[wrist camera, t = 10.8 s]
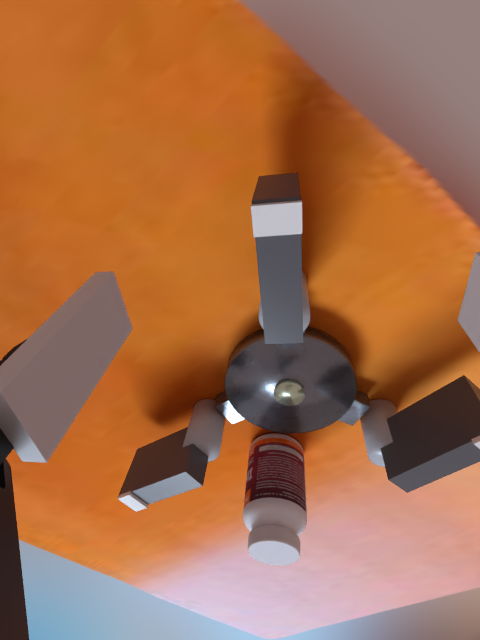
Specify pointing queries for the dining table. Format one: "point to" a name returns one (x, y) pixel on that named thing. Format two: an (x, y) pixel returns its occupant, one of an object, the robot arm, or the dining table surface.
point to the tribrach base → (291, 384)
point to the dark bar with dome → (425, 435)
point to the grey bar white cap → (280, 258)
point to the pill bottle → (275, 499)
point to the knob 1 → (175, 459)
